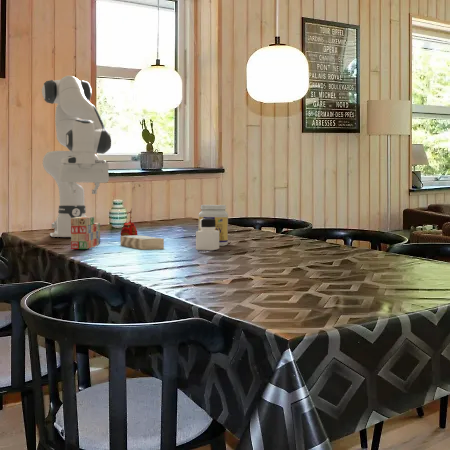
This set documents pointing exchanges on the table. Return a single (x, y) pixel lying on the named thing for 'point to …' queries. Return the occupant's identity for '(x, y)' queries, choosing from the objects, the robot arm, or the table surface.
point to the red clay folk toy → (129, 228)
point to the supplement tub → (217, 220)
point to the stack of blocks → (84, 233)
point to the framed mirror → (142, 242)
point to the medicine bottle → (207, 235)
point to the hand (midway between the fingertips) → (84, 193)
